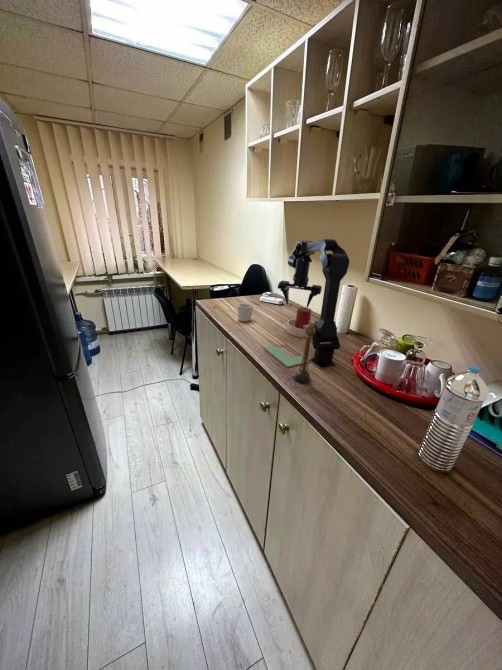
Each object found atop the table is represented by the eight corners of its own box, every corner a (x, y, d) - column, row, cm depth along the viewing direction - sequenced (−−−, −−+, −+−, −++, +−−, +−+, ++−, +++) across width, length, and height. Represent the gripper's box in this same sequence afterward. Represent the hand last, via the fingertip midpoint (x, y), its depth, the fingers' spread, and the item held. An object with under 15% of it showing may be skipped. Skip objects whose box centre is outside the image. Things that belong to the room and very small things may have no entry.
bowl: (322, 335, 128) (323, 327, 127) (298, 340, 122) (299, 331, 120) (303, 325, 140) (304, 317, 138) (280, 329, 133) (281, 320, 131)
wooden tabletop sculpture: (291, 374, 94) (298, 320, 86) (303, 373, 96) (311, 319, 88) (299, 384, 89) (308, 327, 81) (311, 382, 91) (321, 326, 83)
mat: (309, 362, 103) (309, 361, 103) (287, 367, 99) (287, 366, 99) (284, 345, 116) (284, 344, 116) (264, 349, 112) (264, 348, 111)
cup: (232, 316, 145) (233, 301, 142) (246, 315, 149) (247, 300, 145) (240, 323, 136) (241, 308, 133) (254, 321, 140) (255, 306, 137)
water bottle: (438, 450, 66) (478, 359, 56) (458, 474, 60) (507, 377, 50) (410, 449, 66) (446, 358, 56) (428, 474, 59) (472, 376, 50)
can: (311, 332, 129) (314, 310, 125) (300, 334, 126) (303, 312, 122) (302, 328, 135) (305, 306, 130) (291, 329, 132) (294, 308, 127)
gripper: (325, 271, 122) (320, 304, 128) (285, 266, 127) (281, 298, 134) (322, 275, 112) (316, 311, 118) (279, 269, 118) (275, 304, 124)
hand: (297, 305), depth 124 cm, fingers open, 9 cm apart
